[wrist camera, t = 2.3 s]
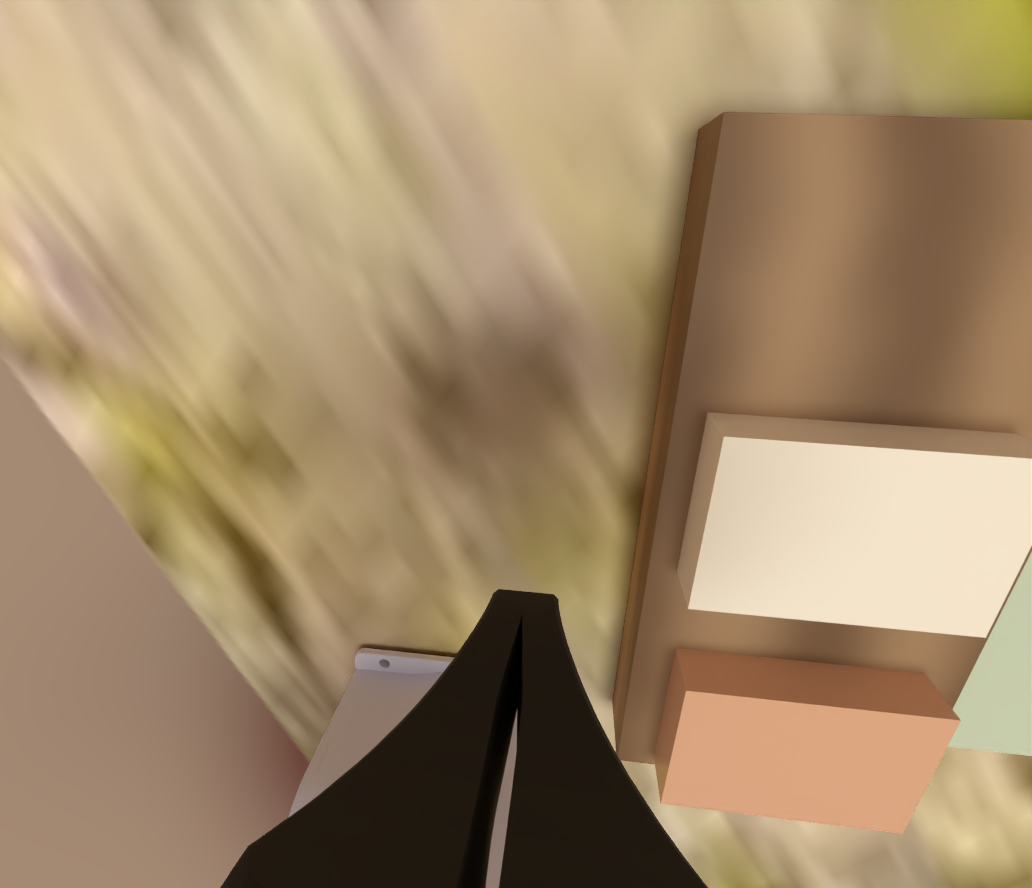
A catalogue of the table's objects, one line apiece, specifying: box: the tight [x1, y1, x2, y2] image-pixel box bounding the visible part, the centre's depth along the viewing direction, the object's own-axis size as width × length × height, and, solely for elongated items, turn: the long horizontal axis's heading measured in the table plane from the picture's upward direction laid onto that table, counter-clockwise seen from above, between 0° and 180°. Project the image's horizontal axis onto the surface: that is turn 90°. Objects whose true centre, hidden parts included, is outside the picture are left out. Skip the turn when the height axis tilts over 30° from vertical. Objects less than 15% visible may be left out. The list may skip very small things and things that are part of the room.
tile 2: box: [654, 648, 961, 834], centre depth 20 cm, size 9×6×2 cm, turn 88°
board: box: [613, 112, 1032, 764], centre depth 19 cm, size 12×24×3 cm, turn 178°
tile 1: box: [677, 412, 1032, 638], centre depth 17 cm, size 9×6×2 cm, turn 88°
